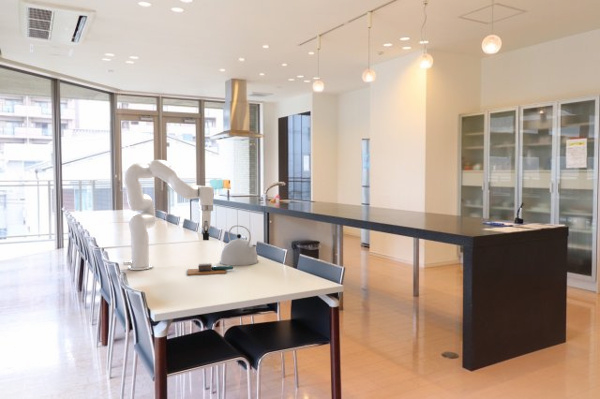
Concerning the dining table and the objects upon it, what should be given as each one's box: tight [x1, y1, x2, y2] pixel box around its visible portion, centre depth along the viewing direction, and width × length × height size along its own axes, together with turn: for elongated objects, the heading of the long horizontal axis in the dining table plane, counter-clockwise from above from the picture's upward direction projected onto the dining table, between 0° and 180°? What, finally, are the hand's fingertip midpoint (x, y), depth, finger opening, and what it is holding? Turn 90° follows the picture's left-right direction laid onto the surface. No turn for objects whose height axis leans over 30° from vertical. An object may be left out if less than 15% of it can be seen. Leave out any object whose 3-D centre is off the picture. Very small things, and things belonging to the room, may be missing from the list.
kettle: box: [220, 224, 259, 266], centre depth 281 cm, size 25×23×23 cm
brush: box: [197, 263, 234, 272], centre depth 254 cm, size 19×4×4 cm, turn 103°
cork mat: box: [187, 268, 227, 276], centre depth 253 cm, size 20×12×1 cm, turn 103°
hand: (205, 238), depth 254 cm, fingers open, 9 cm apart
